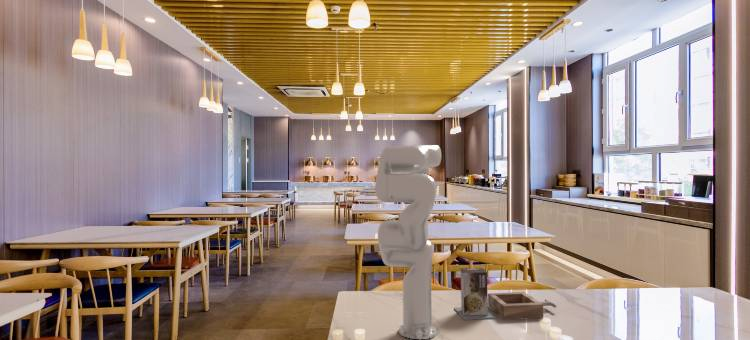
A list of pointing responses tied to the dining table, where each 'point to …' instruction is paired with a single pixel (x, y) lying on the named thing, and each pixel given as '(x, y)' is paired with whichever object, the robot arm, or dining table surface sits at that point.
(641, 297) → the dining table surface
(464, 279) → the coffee box
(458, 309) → the mat
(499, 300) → the open brown box
